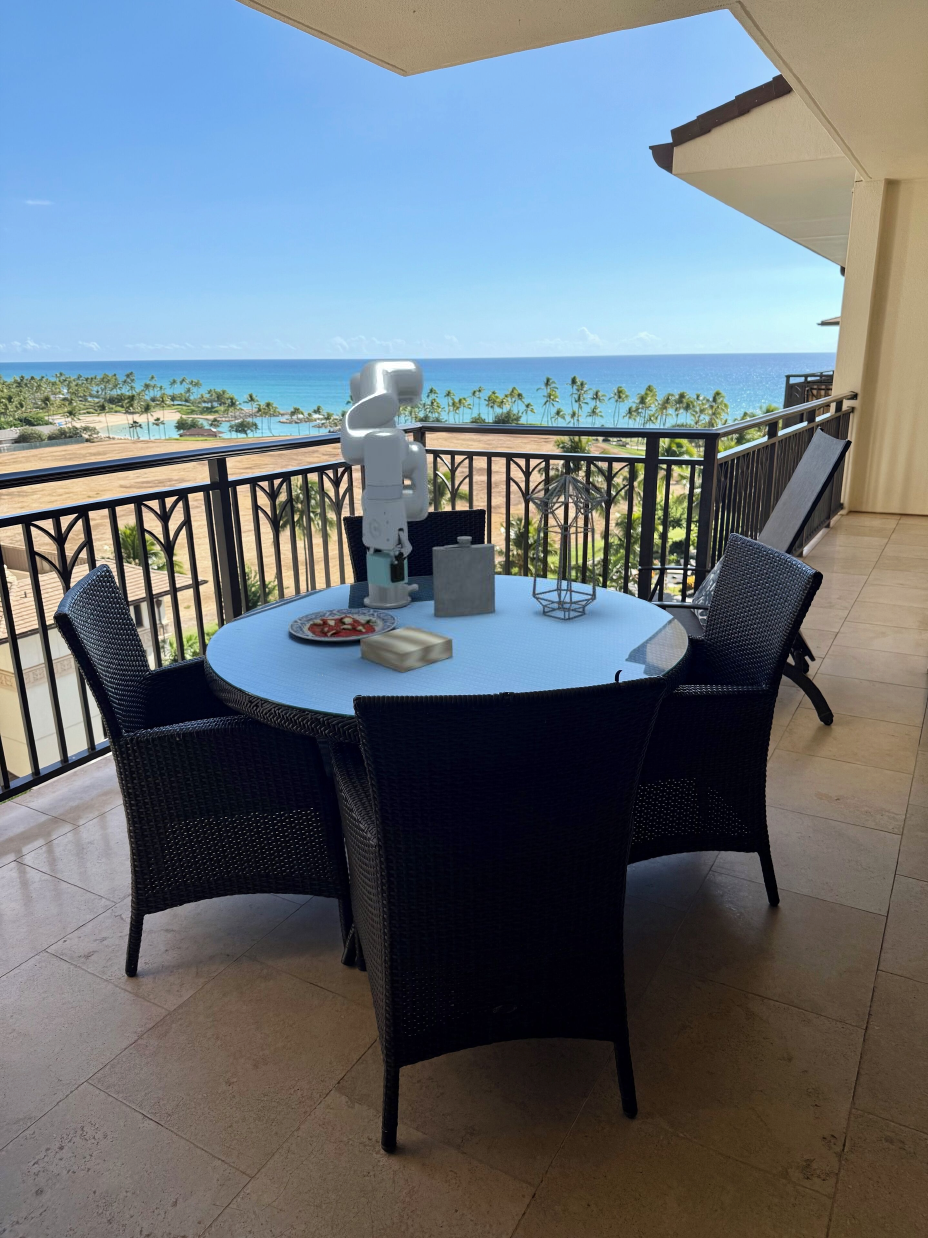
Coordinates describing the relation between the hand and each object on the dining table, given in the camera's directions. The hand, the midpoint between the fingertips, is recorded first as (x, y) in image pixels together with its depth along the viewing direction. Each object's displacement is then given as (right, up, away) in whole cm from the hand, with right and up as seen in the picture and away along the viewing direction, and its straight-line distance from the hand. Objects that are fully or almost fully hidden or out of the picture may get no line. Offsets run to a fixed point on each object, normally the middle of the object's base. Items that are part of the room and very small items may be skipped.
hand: (388, 578), depth 170 cm
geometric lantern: (+42, -7, +36) cm, 56 cm away
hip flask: (+16, -8, +37) cm, 41 cm away
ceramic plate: (-13, -12, +24) cm, 30 cm away
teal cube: (0, -1, 0) cm, 1 cm away
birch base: (+4, -17, +5) cm, 18 cm away
